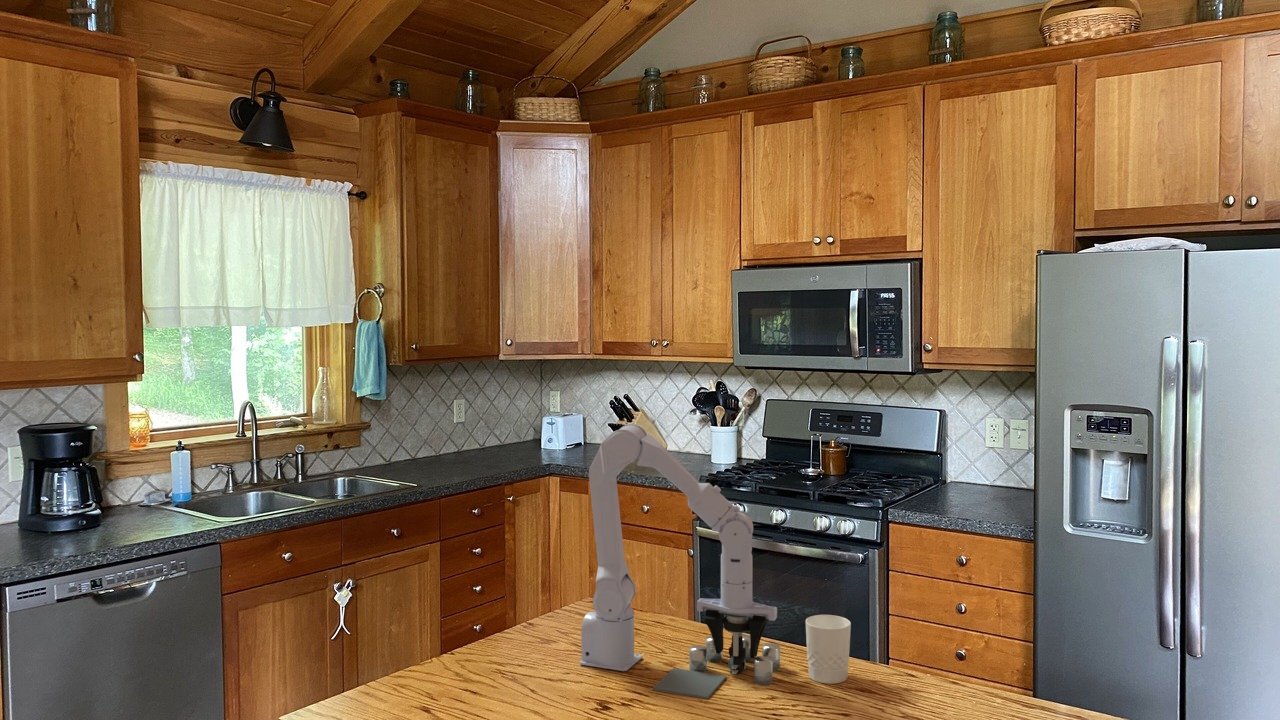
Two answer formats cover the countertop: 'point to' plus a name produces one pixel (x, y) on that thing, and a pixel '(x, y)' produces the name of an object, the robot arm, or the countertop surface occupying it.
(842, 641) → the white cup
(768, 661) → the cylinder
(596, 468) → the robot arm
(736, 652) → the push button
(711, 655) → the cylinder
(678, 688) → the mat
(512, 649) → the countertop surface
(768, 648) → the spacer back right
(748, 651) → the cylinder
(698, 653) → the cylinder
